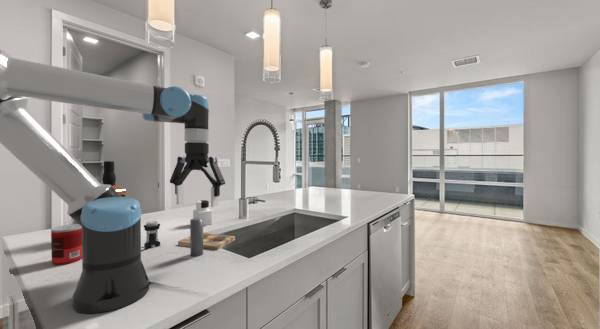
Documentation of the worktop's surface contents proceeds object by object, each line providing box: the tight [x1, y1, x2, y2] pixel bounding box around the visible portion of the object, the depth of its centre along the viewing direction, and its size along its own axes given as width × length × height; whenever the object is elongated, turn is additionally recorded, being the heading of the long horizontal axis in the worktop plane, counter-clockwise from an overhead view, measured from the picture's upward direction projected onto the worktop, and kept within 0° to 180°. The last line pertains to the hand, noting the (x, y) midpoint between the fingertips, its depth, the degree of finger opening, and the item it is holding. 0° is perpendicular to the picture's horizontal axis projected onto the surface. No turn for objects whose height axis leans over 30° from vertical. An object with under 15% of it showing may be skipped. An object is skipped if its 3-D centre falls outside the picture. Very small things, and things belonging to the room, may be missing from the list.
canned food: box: [50, 223, 82, 266], centre depth 86 cm, size 8×8×11 cm
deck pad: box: [178, 249, 214, 261], centre depth 89 cm, size 8×8×1 cm
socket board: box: [177, 232, 236, 251], centre depth 102 cm, size 12×17×3 cm
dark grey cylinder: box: [189, 218, 204, 257], centre depth 89 cm, size 4×4×12 cm
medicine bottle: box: [192, 199, 213, 227], centre depth 134 cm, size 7×7×12 cm
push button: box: [141, 220, 161, 252], centre depth 96 cm, size 7×5×10 cm
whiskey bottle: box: [102, 160, 127, 197], centre depth 112 cm, size 10×10×32 cm
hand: (197, 205), depth 89 cm, fingers open, 13 cm apart
